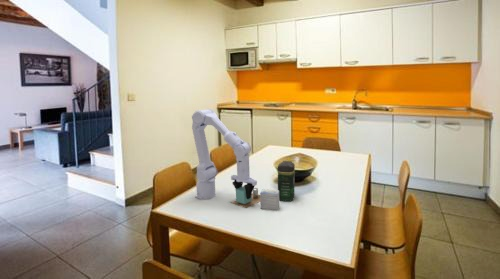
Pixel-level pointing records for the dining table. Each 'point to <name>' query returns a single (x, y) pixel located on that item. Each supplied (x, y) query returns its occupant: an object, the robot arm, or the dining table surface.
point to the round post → (255, 193)
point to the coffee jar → (286, 181)
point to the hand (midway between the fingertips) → (244, 197)
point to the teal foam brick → (242, 196)
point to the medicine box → (269, 199)
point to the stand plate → (248, 202)
